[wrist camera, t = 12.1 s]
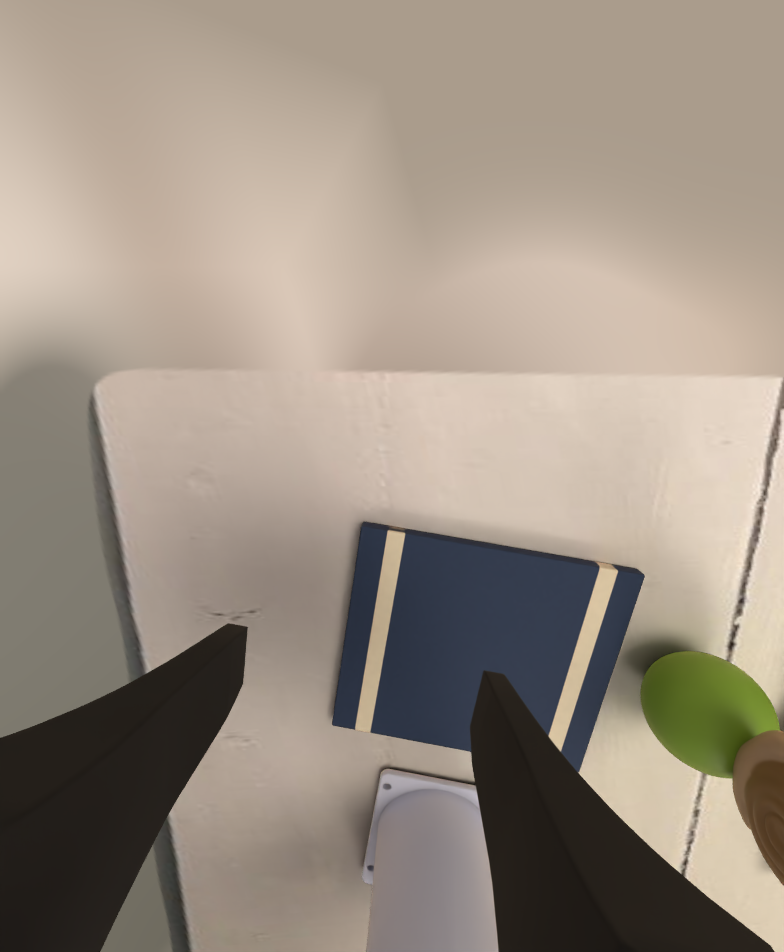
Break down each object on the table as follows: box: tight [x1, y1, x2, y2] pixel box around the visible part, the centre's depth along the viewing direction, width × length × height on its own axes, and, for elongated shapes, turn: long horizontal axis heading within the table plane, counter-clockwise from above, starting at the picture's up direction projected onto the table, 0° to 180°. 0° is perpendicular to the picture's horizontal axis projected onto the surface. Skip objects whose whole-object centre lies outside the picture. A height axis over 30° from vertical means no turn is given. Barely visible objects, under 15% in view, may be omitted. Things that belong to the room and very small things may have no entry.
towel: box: [332, 522, 645, 772], centre depth 23 cm, size 13×15×1 cm
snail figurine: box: [641, 651, 784, 885], centre depth 17 cm, size 5×6×12 cm
